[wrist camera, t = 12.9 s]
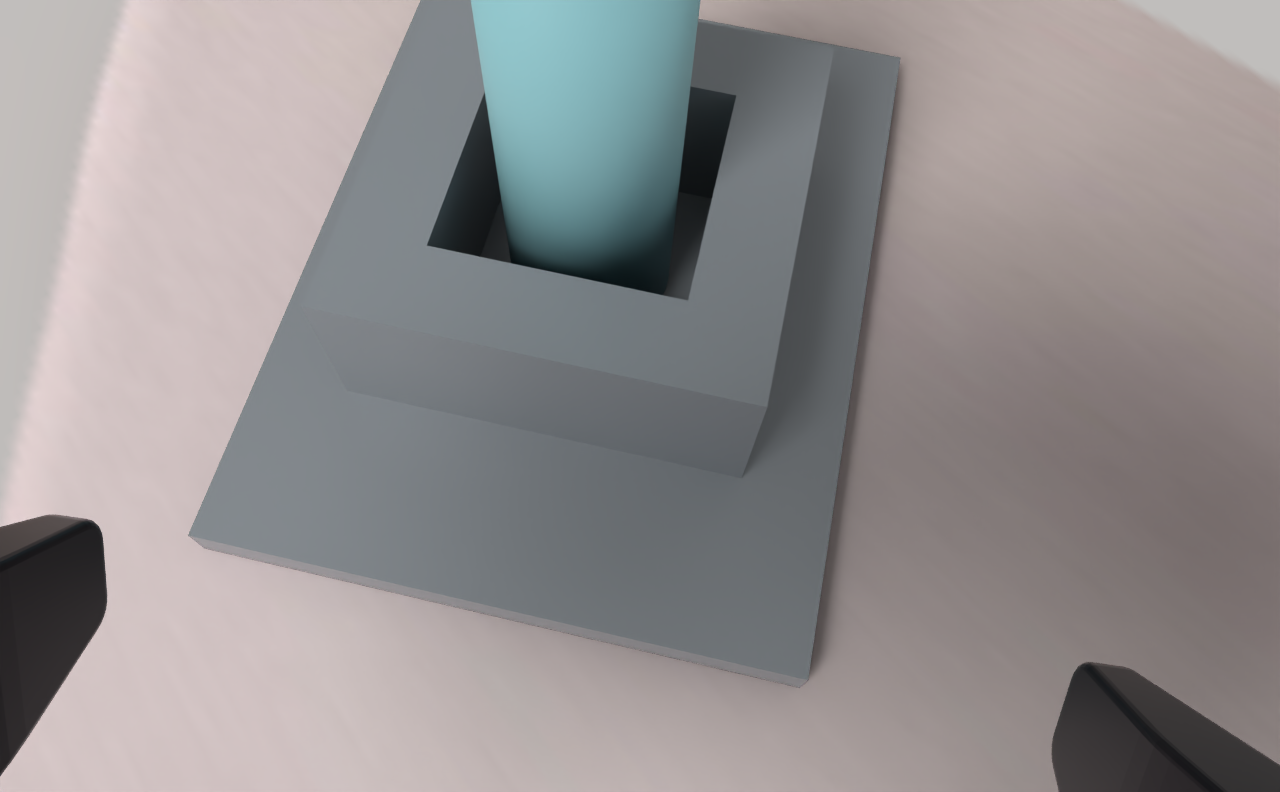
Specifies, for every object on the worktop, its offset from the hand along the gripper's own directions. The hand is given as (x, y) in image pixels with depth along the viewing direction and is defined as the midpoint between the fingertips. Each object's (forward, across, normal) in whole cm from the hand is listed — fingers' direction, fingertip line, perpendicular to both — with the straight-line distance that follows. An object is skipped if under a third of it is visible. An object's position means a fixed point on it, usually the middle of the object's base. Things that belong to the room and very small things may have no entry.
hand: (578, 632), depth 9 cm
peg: (+17, +2, +1) cm, 17 cm away
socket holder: (+18, +2, +1) cm, 18 cm away
